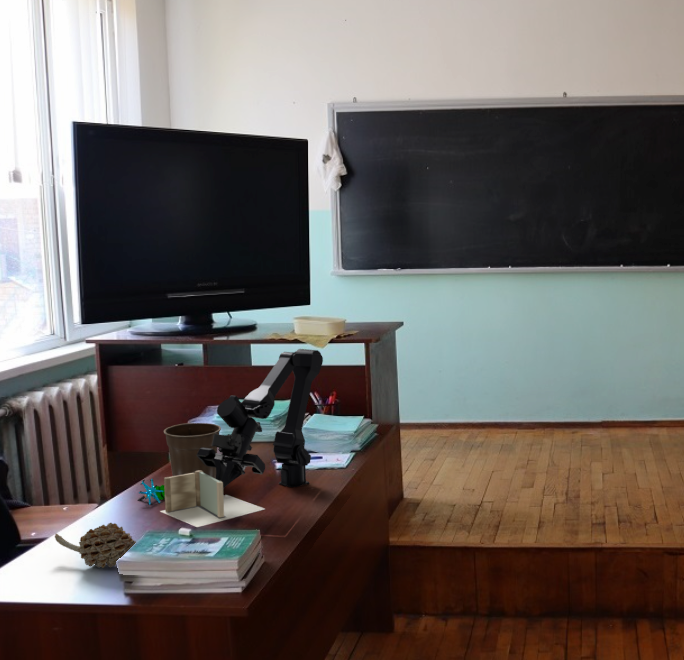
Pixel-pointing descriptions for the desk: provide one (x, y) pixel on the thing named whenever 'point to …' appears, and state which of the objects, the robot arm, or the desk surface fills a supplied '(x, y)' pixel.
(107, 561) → the pine cone
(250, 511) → the card
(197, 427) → the plant pot
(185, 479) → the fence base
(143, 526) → the desk surface
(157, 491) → the stick construction toy
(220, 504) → the sage fence panel
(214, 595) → the desk surface
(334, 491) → the desk surface
